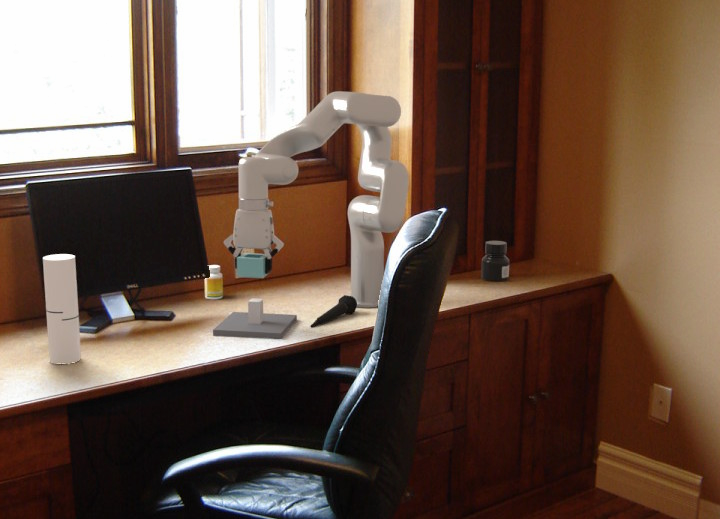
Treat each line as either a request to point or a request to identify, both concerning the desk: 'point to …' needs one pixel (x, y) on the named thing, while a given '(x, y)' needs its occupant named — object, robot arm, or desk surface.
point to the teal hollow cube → (251, 265)
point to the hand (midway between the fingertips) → (253, 271)
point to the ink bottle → (495, 262)
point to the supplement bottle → (214, 283)
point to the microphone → (338, 310)
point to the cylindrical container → (62, 308)
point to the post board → (255, 323)
